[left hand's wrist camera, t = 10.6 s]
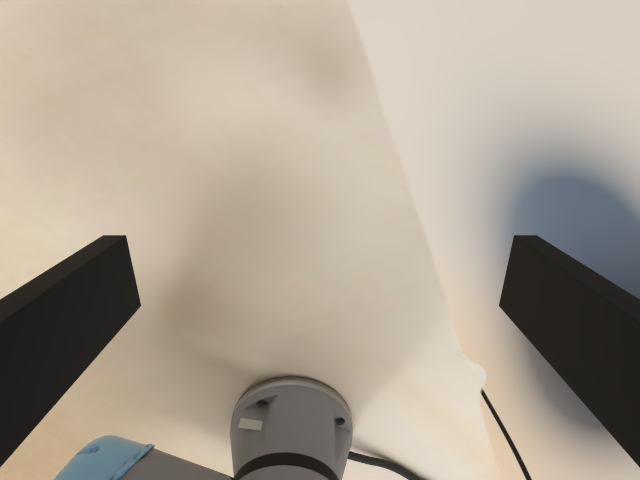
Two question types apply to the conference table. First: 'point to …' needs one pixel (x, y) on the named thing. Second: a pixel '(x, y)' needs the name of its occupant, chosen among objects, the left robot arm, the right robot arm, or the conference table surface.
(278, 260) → the conference table surface
